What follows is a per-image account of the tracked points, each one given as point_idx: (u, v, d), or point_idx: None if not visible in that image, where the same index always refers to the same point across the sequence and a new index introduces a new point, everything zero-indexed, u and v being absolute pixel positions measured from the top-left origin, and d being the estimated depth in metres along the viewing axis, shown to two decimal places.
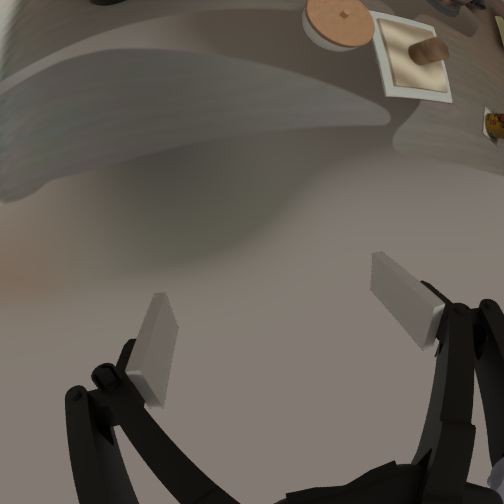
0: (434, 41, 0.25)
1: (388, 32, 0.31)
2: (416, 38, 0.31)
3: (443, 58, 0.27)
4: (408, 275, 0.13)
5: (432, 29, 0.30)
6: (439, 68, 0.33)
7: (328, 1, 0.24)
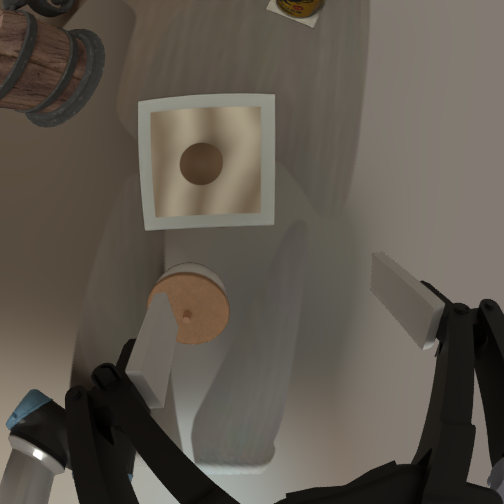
0: (189, 174, 0.26)
1: (177, 206, 0.34)
2: (174, 153, 0.32)
3: (220, 161, 0.26)
4: (408, 275, 0.13)
5: (144, 105, 0.30)
6: (220, 115, 0.31)
7: None
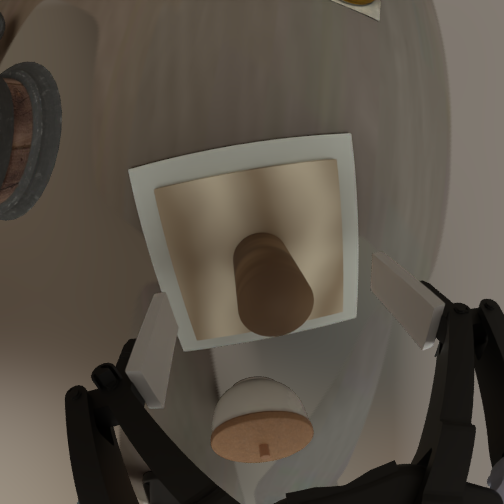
0: (259, 323, 0.16)
1: (226, 325, 0.24)
2: (208, 254, 0.21)
3: (310, 297, 0.15)
4: (408, 275, 0.13)
5: (139, 174, 0.19)
6: (274, 182, 0.20)
7: (242, 455, 0.23)
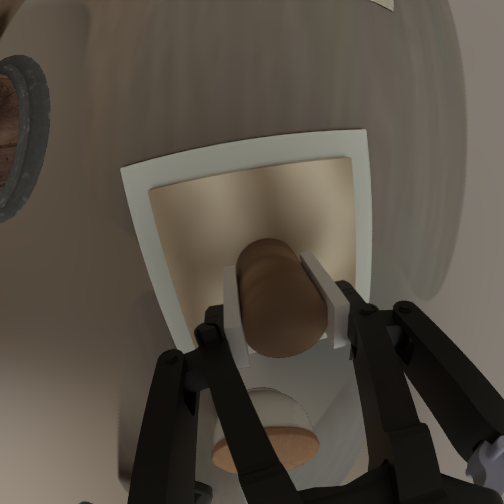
0: (266, 344, 0.14)
1: None
2: (208, 261, 0.19)
3: (324, 315, 0.13)
4: (324, 274, 0.15)
5: (132, 173, 0.17)
6: (283, 182, 0.17)
7: None
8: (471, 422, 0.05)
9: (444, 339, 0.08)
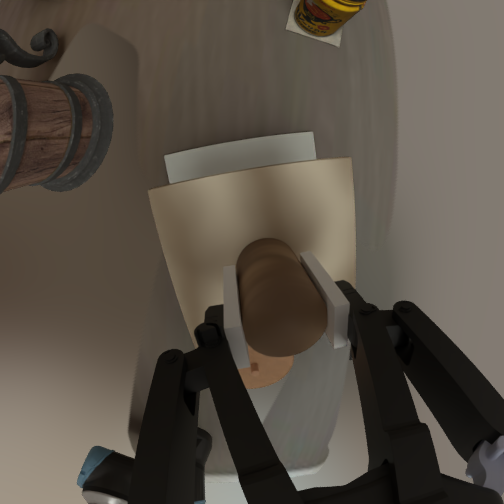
0: (266, 344, 0.14)
1: None
2: (208, 261, 0.19)
3: (324, 314, 0.13)
4: (324, 274, 0.15)
5: (171, 159, 0.30)
6: (283, 182, 0.18)
7: None
8: (471, 422, 0.05)
9: (444, 339, 0.08)
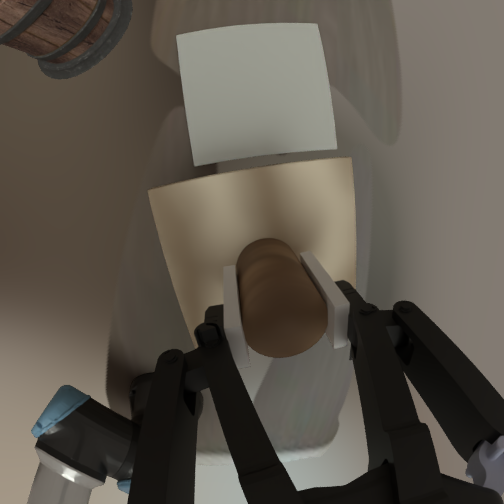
0: (266, 344, 0.14)
1: None
2: (208, 261, 0.19)
3: (324, 315, 0.13)
4: (324, 274, 0.15)
5: (183, 37, 0.25)
6: (283, 182, 0.17)
7: None
8: (471, 422, 0.05)
9: (444, 339, 0.08)
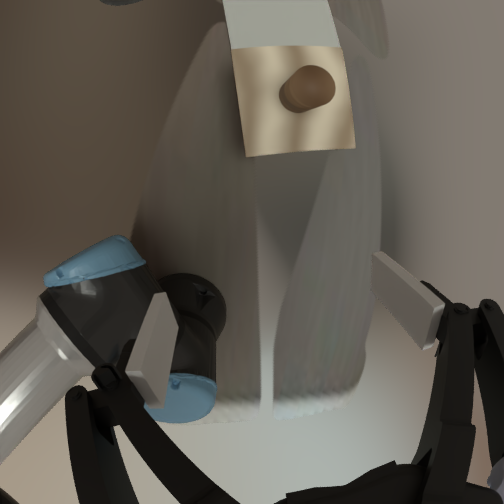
0: (304, 94, 0.22)
1: (270, 143, 0.30)
2: (262, 88, 0.28)
3: (333, 84, 0.22)
4: (408, 275, 0.13)
5: None
6: (305, 53, 0.26)
7: None
8: None
9: None
